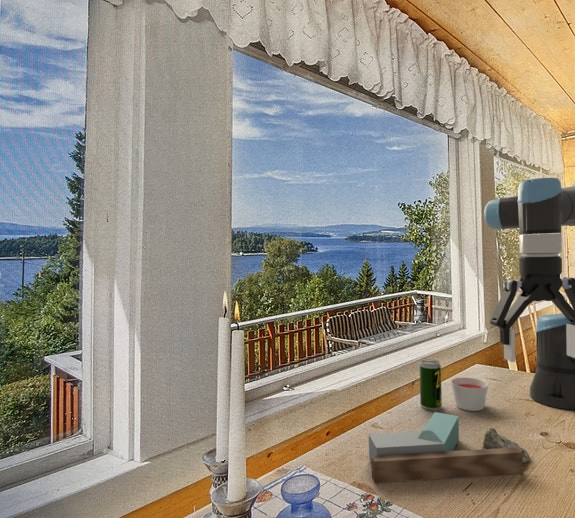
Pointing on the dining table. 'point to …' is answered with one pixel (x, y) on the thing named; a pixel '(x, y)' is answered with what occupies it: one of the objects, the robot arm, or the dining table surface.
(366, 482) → the dining table surface
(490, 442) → the rock sample
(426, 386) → the beer can
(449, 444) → the grey teal angled block
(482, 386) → the white cup
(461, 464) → the walnut wall
